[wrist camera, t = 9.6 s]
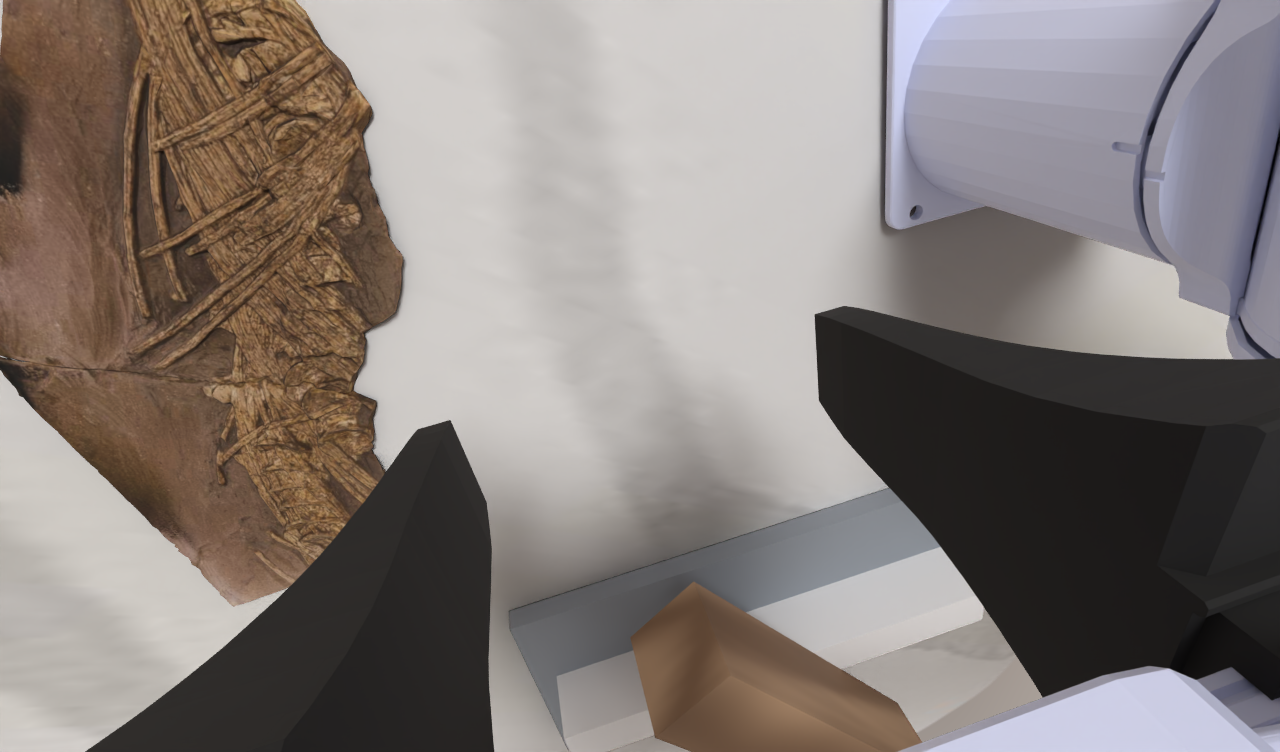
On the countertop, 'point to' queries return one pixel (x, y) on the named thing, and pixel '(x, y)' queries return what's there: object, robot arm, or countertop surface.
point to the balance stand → (747, 608)
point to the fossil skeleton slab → (195, 268)
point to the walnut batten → (753, 687)
